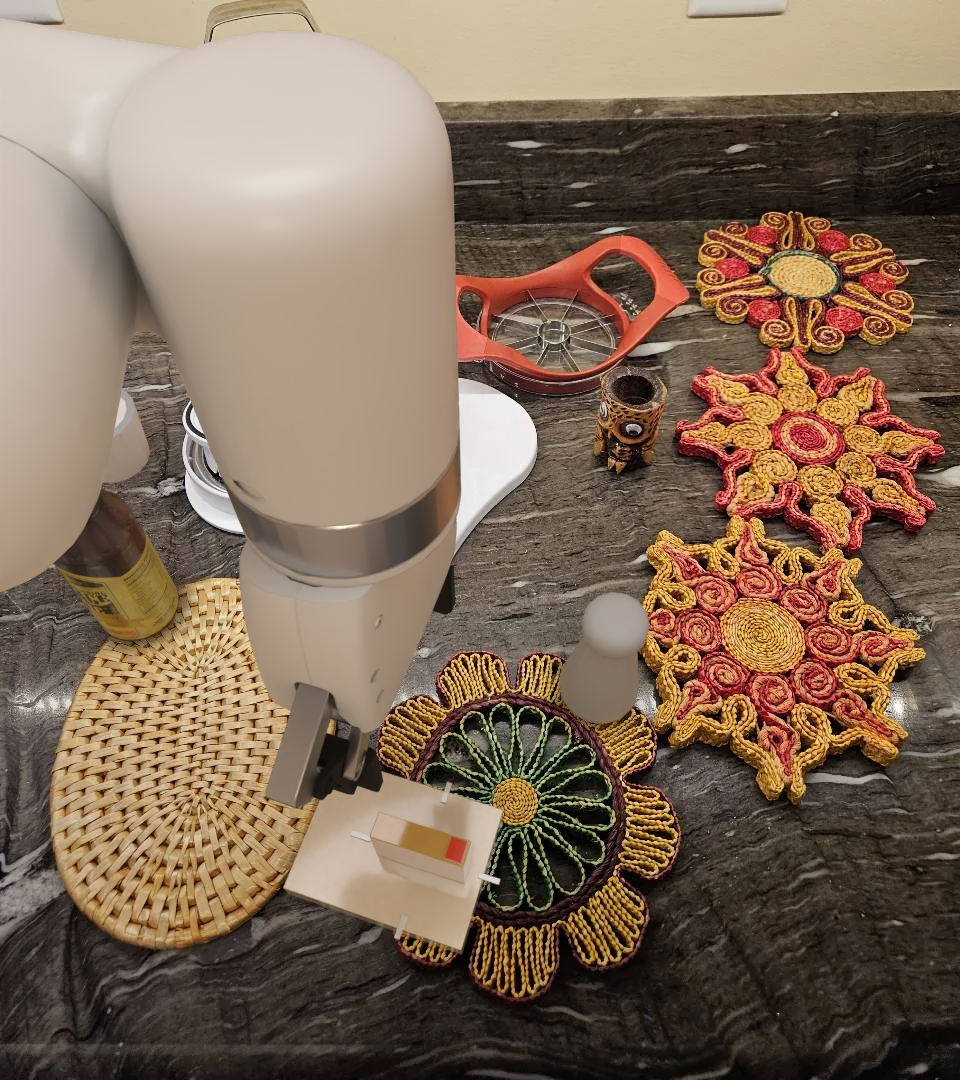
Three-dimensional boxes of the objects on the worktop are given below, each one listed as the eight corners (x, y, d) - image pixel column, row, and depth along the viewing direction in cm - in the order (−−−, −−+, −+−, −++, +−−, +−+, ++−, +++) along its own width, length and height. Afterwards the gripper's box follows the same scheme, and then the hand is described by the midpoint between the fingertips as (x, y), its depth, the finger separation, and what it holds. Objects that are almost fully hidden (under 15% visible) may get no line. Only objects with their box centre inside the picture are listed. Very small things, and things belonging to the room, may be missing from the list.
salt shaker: (553, 728, 64) (567, 650, 53) (559, 659, 67) (574, 572, 56) (632, 738, 63) (662, 662, 52) (635, 668, 66) (664, 582, 56)
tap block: (287, 906, 57) (278, 896, 54) (346, 763, 62) (340, 748, 60) (475, 973, 55) (475, 966, 52) (520, 818, 60) (521, 805, 57)
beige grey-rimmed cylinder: (85, 442, 79) (53, 389, 73) (161, 432, 80) (135, 378, 74) (79, 501, 75) (46, 450, 70) (159, 490, 76) (132, 438, 70)
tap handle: (376, 855, 56) (368, 835, 52) (385, 831, 57) (378, 810, 53) (464, 884, 55) (463, 866, 51) (472, 859, 56) (471, 840, 52)
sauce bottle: (91, 615, 69) (-33, 459, 53) (157, 568, 72) (59, 405, 55) (136, 667, 67) (21, 521, 50) (202, 617, 69) (114, 461, 52)
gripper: (345, 274, 33) (385, 526, 47) (96, 662, 24) (238, 829, 38) (532, 317, 32) (515, 563, 46) (344, 745, 23) (395, 886, 37)
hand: (389, 684), depth 42 cm, fingers open, 9 cm apart
